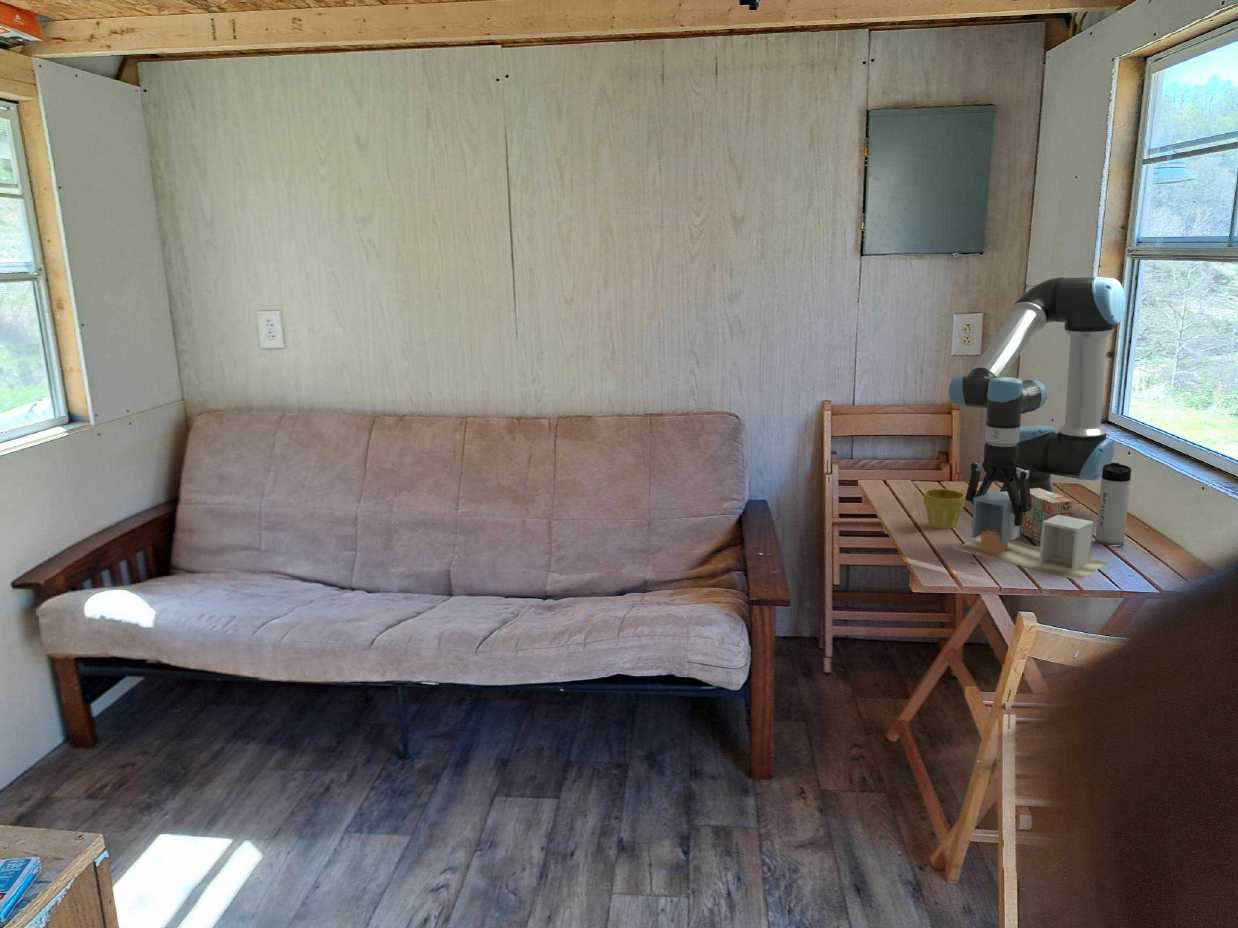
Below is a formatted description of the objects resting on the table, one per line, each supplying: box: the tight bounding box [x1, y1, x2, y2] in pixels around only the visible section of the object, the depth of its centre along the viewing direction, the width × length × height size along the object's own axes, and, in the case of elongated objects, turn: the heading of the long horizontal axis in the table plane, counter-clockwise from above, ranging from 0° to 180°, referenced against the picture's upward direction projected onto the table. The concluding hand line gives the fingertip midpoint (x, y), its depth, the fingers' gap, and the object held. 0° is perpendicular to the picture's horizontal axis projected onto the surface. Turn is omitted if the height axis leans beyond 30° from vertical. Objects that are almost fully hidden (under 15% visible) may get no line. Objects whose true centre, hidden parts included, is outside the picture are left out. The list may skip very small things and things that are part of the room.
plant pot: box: [923, 488, 966, 530], centre depth 234 cm, size 10×10×10 cm
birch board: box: [952, 536, 1109, 581], centre depth 210 cm, size 16×30×1 cm, turn 40°
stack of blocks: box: [996, 488, 1074, 543], centre depth 227 cm, size 21×6×12 cm, turn 13°
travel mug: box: [1094, 462, 1132, 547], centre depth 218 cm, size 6×7×20 cm
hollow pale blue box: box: [971, 491, 1021, 544], centre depth 214 cm, size 8×8×10 cm
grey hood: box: [1039, 515, 1094, 571], centre depth 203 cm, size 8×8×10 cm
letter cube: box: [980, 528, 1008, 553], centre depth 215 cm, size 4×4×5 cm
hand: (995, 533), depth 215 cm, fingers closed on hollow pale blue box, 8 cm apart
